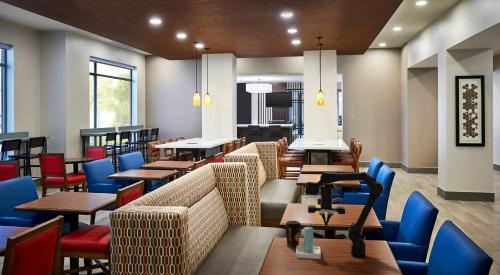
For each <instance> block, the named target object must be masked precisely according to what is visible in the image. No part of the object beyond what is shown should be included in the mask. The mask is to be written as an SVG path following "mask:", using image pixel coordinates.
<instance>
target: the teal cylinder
mask: <svg viewBox="0 0 500 275" xmlns="http://www.w3.org/2000/svg"><path fill="white" fill-rule="evenodd" d="M303 246H304V253H313V246H314V227H311V226H305V227H303Z"/></svg>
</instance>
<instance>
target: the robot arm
mask: <svg viewBox="0 0 500 275" xmlns="http://www.w3.org/2000/svg"><path fill="white" fill-rule="evenodd" d="M319 178H320V179H319V180H318V181H317V182H312V181H307V183H306V184H307V185H306V187H305V194H306V195H307V196H315V197H316V196H319V194H320V198H317V206H320V207H316V205H308V206H307V213H308V214H315V213H316V212H318V216H321V218H322V220H323V223H324V225H325V227H328V225H329V222H330V220H331V219H332V217H333V216H334V215H335V213H337V214H338V215H346V208H345V207H344V206H336V207H333V189H336V188H337V185H335V184H334V183H337V182H349V181H351V182H352V181H355V182H356V181H362V182H363V183H364V184H365V185H366V186H367V187H368V188H370V189H369V190H370V191H369V194H368V197H367V200H366V202H365V204H364V207H363V208H362V210H361V212H360V214H359V216H358V218H357V220H356V222H355V223H354V222H353V221H352V223H351V224H350V227H349V229H348V230H347V233H348V234H347V236H348V239H349V240H350V241H351V245H350V255H352V257H353V258H367V256H366V242H365V240H366V236H365V235H364V234H363V229H364V225H365V223H366V221H367V219H368V216H369V215H370V213H371V210H372V209H373V206H374V205H375V203H376V201H377V199H379V197H381V195H382V194H383V193H384V189H385V185H384V183H383V182H382V181H379V180H376V178H374V177H373V176H371V175H370V174H369V173H368V172H366V171H362V172H360V171H359V172H334V171H328V170H327V171H325V172H323V173H322V174H320V176H319ZM326 213H327V214H326Z"/></svg>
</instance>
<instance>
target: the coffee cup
mask: <svg viewBox="0 0 500 275" xmlns="http://www.w3.org/2000/svg"><path fill="white" fill-rule="evenodd" d="M284 227H285V236H286V239H285V240H286V247H288V248H296V247H297V246H300V244H299V243H300V240H301V239H300V238H301V227H302V225H301V223H300V221H298V220H287V221H286V223H285V225H284Z"/></svg>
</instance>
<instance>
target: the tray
mask: <svg viewBox="0 0 500 275" xmlns="http://www.w3.org/2000/svg"><path fill="white" fill-rule="evenodd" d="M295 248H296V250H295V251H296V252H295V258H297V259H314V260H316V259H317V260H321V257H322V254H321V247H320V246H314V245H313V253H304V245H299V246H297V247H295Z"/></svg>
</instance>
